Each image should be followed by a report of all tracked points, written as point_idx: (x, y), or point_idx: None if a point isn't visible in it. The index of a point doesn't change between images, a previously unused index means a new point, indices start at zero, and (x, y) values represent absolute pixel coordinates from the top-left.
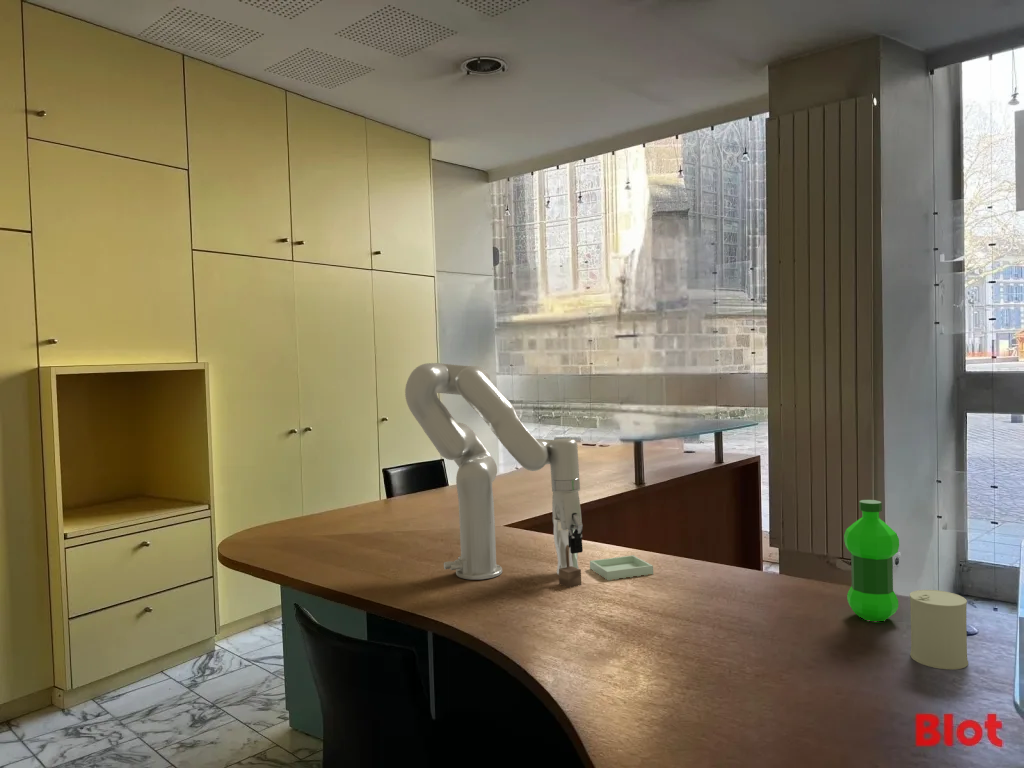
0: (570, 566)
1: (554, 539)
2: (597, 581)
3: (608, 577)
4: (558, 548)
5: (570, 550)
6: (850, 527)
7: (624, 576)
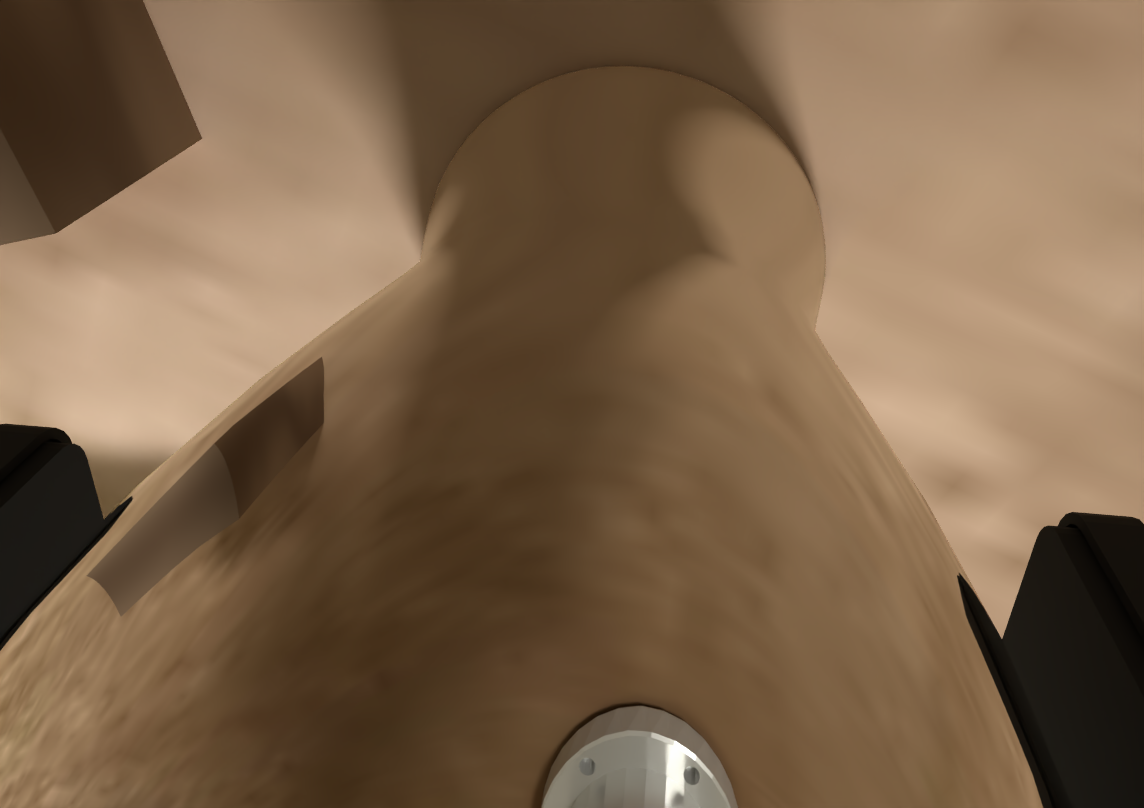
0: (28, 205)
1: (579, 383)
2: (102, 440)
3: None
4: (426, 285)
5: (9, 456)
6: None
7: None
